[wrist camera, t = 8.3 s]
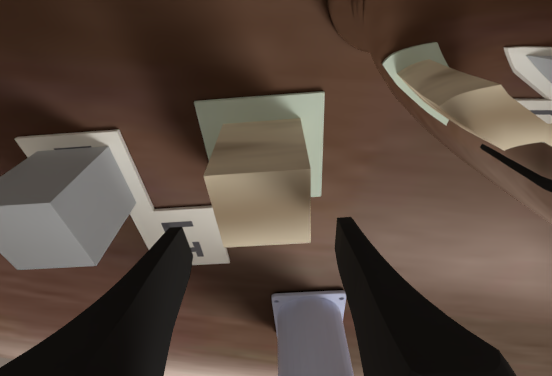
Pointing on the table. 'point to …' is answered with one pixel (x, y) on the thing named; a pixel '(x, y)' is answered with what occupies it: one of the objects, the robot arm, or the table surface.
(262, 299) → the table surface
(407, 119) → the table surface
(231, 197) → the maple block
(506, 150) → the silver metal cup
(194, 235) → the tile
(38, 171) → the grey block
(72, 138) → the tile
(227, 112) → the mat
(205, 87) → the table surface
